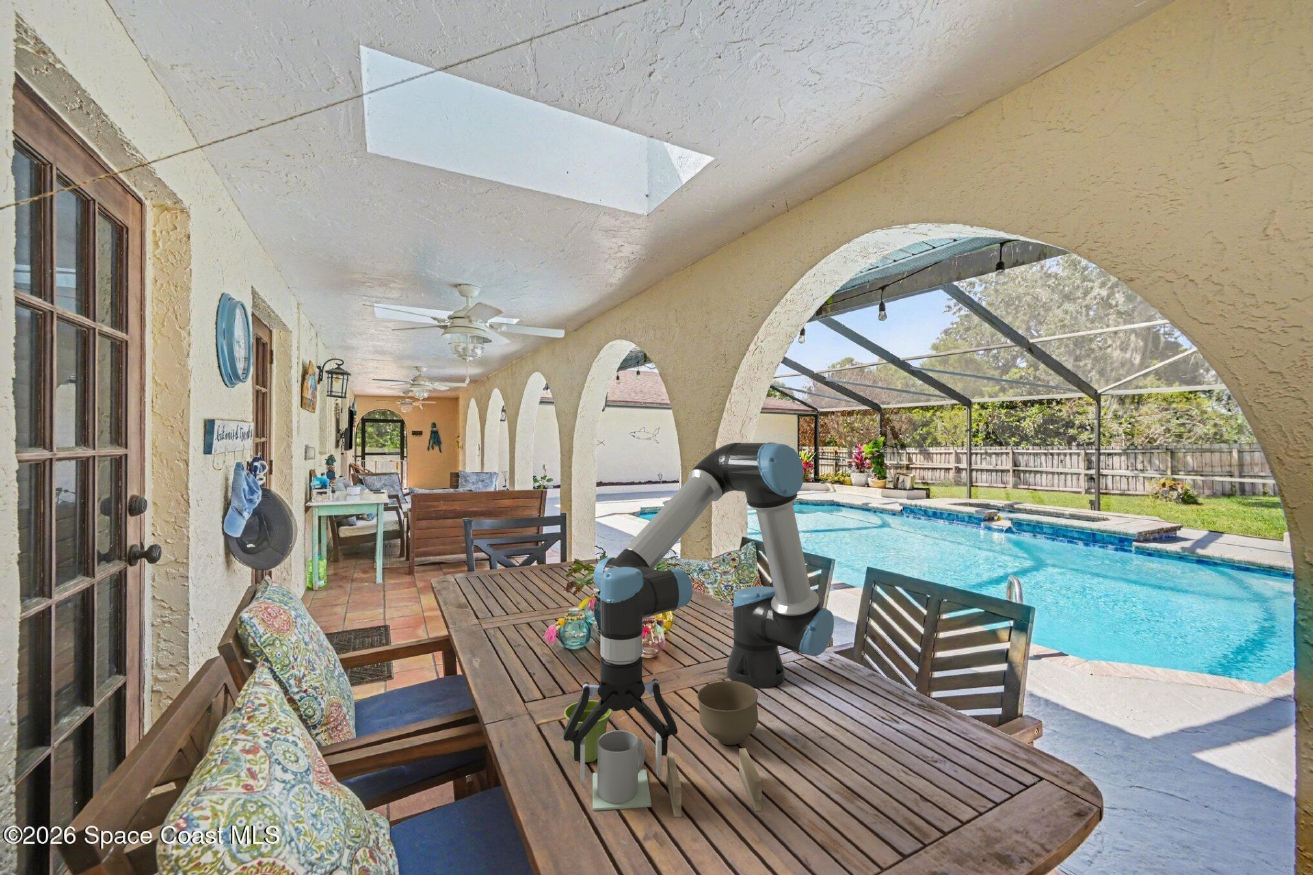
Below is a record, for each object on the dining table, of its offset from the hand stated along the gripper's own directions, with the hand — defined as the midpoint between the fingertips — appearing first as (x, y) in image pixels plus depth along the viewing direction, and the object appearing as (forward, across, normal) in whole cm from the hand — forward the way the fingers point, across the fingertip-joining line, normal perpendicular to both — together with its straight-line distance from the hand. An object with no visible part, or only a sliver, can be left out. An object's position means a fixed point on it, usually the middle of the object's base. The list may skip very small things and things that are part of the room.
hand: (620, 775), depth 99 cm
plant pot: (+3, +6, -12) cm, 14 cm away
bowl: (+3, -23, -14) cm, 27 cm away
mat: (+3, 0, 0) cm, 3 cm away
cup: (+2, 0, 0) cm, 3 cm away
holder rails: (+3, -16, +3) cm, 17 cm away
